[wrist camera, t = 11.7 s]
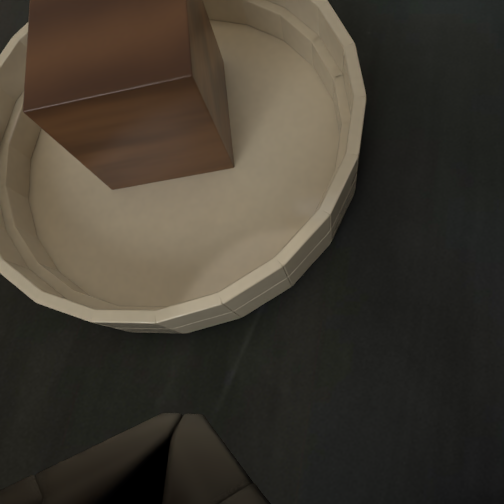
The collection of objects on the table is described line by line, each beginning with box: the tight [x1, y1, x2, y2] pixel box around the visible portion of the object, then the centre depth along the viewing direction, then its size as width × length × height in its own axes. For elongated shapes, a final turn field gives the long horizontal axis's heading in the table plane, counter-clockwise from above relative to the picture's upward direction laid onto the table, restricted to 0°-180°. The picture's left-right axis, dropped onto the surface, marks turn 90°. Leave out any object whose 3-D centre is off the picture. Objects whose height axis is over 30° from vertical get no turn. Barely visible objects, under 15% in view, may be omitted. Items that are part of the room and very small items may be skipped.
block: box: [23, 0, 234, 190], centre depth 23 cm, size 8×8×8 cm
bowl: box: [0, 0, 366, 334], centre depth 24 cm, size 21×21×4 cm
